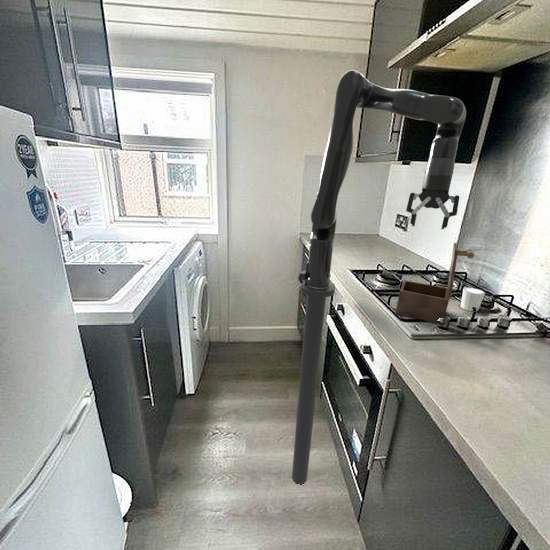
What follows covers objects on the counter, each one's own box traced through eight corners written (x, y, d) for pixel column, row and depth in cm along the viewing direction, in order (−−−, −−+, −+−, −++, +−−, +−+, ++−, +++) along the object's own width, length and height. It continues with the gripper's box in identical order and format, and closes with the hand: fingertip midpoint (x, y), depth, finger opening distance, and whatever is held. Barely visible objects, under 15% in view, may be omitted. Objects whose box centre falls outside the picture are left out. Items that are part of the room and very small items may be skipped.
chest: (395, 314, 104) (400, 290, 102) (400, 301, 115) (404, 280, 112) (442, 324, 98) (449, 300, 95) (443, 310, 109) (448, 288, 106)
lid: (454, 250, 91) (476, 251, 88) (453, 243, 102) (472, 244, 99) (447, 298, 95) (467, 301, 93) (447, 286, 106) (465, 288, 103)
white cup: (473, 304, 115) (477, 287, 113) (484, 312, 109) (489, 294, 107) (455, 303, 116) (459, 286, 113) (465, 311, 109) (470, 293, 107)
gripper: (464, 175, 92) (452, 228, 97) (414, 173, 98) (405, 223, 103) (466, 175, 85) (453, 231, 90) (412, 173, 91) (402, 226, 97)
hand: (427, 227), depth 97 cm, fingers open, 8 cm apart
